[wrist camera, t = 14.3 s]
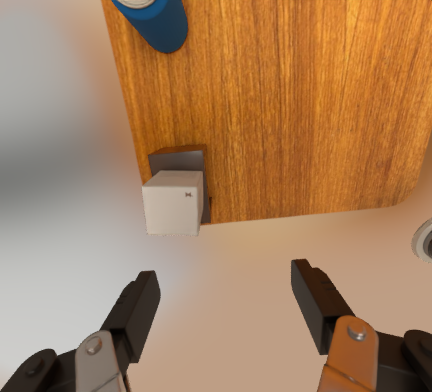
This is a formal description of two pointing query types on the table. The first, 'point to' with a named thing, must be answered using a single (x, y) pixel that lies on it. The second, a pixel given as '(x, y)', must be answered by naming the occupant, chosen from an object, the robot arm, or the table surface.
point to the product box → (173, 203)
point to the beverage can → (157, 21)
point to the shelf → (184, 167)
